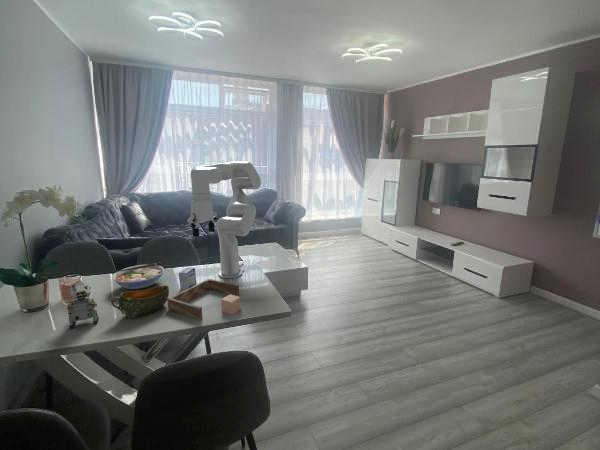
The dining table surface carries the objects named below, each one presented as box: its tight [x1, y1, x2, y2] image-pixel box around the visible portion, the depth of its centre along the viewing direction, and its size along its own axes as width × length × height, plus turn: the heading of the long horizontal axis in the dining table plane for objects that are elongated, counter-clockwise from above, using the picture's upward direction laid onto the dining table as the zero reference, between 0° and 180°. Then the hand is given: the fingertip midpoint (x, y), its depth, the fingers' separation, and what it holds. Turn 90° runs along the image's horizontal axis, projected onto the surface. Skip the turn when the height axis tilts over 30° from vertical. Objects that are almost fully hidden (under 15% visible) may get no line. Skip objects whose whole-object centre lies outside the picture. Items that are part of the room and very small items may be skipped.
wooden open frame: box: [166, 278, 240, 321], centre depth 140 cm, size 24×18×5 cm
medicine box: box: [178, 266, 197, 291], centre depth 156 cm, size 8×4×9 cm, turn 168°
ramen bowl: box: [108, 261, 165, 290], centre depth 157 cm, size 25×23×8 cm
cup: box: [110, 285, 170, 319], centre depth 132 cm, size 13×20×10 cm, turn 107°
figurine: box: [66, 282, 100, 330], centre depth 123 cm, size 9×12×15 cm
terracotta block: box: [220, 294, 242, 315], centre depth 133 cm, size 6×6×6 cm
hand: (204, 234), depth 145 cm, fingers open, 9 cm apart
